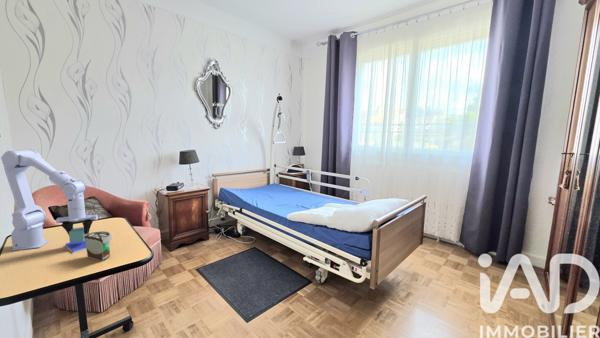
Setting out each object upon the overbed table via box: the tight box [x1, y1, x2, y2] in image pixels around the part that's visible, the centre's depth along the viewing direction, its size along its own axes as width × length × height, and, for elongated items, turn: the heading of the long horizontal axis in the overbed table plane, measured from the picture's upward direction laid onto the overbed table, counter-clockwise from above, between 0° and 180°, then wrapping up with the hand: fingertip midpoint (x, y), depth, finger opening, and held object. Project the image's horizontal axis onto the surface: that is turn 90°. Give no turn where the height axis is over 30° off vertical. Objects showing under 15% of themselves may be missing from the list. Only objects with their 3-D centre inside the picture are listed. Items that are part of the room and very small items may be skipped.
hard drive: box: [64, 240, 87, 254], centre depth 116 cm, size 2×8×12 cm
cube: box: [68, 226, 85, 243], centre depth 115 cm, size 5×5×5 cm
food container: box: [84, 230, 113, 262], centre depth 107 cm, size 12×6×10 cm, turn 71°
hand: (79, 236), depth 115 cm, fingers closed on cube, 5 cm apart
